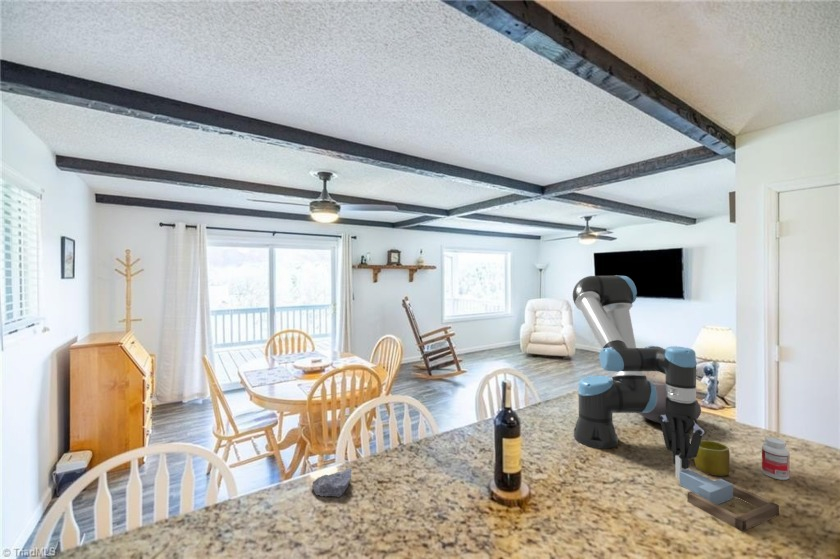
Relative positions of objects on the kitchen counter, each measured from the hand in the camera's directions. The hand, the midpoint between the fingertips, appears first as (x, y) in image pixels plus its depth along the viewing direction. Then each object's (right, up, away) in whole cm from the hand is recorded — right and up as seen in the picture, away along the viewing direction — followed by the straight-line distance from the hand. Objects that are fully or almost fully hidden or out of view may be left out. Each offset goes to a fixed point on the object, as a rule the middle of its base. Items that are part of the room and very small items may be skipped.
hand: (680, 477), depth 110 cm
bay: (+5, -2, -12) cm, 13 cm away
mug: (+15, -2, +8) cm, 17 cm away
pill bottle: (+32, -1, +3) cm, 32 cm away
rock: (-105, -3, -2) cm, 105 cm away
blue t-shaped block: (+2, -2, -5) cm, 6 cm away
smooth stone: (+25, -1, +45) cm, 51 cm away
